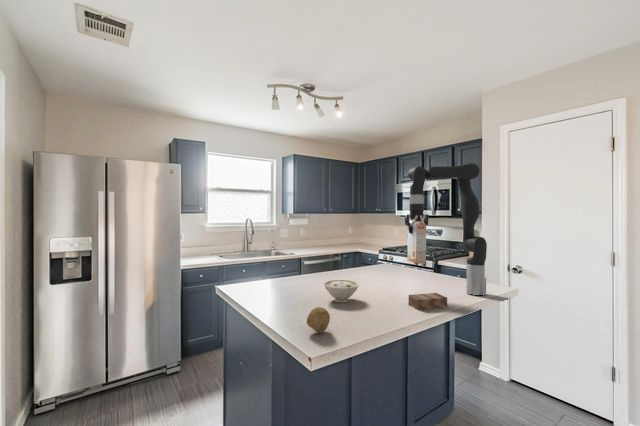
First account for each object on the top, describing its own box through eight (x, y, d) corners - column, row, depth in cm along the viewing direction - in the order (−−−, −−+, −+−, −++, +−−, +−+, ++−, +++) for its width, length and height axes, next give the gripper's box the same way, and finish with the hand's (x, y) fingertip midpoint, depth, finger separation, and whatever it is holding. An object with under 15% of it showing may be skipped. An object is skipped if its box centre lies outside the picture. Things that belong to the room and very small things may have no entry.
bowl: (358, 295, 168) (358, 278, 168) (359, 306, 149) (360, 286, 149) (324, 294, 170) (324, 277, 170) (321, 305, 151) (321, 285, 151)
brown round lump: (304, 336, 112) (304, 310, 112) (309, 327, 121) (309, 303, 121) (328, 338, 111) (328, 311, 111) (331, 329, 120) (331, 304, 120)
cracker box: (426, 264, 157) (426, 224, 157) (415, 264, 157) (415, 224, 157) (417, 259, 171) (417, 223, 171) (407, 259, 171) (407, 223, 171)
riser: (436, 302, 156) (436, 292, 156) (447, 307, 147) (447, 297, 147) (408, 304, 152) (408, 294, 152) (418, 310, 143) (418, 299, 143)
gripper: (423, 203, 170) (423, 232, 170) (401, 203, 166) (401, 233, 166) (432, 203, 163) (432, 233, 163) (409, 202, 159) (409, 234, 159)
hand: (416, 233), depth 164 cm, fingers closed on cracker box, 6 cm apart
